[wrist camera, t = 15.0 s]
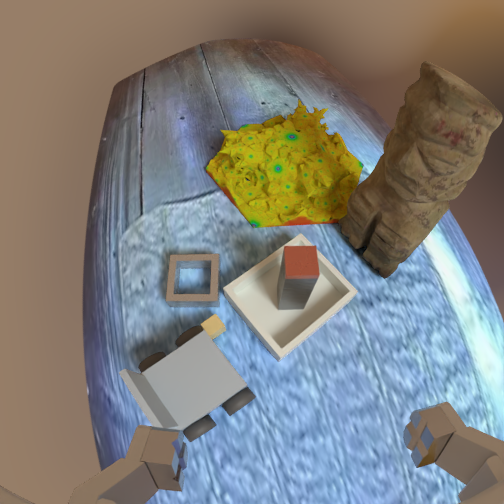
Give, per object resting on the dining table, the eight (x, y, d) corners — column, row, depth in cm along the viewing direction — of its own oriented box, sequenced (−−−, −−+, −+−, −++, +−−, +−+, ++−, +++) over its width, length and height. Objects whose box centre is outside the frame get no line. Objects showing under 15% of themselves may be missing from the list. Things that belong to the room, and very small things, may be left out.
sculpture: (327, 231, 48) (383, 56, 22) (363, 204, 51) (422, 49, 24) (382, 286, 43) (496, 133, 17) (413, 253, 46) (512, 112, 20)
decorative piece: (293, 81, 58) (404, 164, 46) (290, 110, 65) (389, 193, 53) (182, 121, 51) (287, 236, 39) (188, 152, 58) (282, 264, 45)
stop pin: (303, 309, 41) (319, 275, 31) (277, 310, 41) (286, 275, 31) (301, 285, 42) (316, 245, 33) (276, 286, 42) (284, 245, 33)
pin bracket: (219, 307, 42) (217, 300, 40) (170, 307, 42) (165, 300, 39) (220, 262, 45) (218, 253, 43) (174, 262, 45) (170, 254, 43)
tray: (278, 362, 38) (280, 357, 35) (225, 297, 42) (223, 288, 39) (350, 300, 42) (357, 291, 39) (297, 245, 47) (300, 233, 44)
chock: (211, 340, 39) (209, 336, 37) (203, 328, 40) (200, 324, 38) (226, 330, 40) (224, 325, 38) (217, 318, 41) (215, 313, 39)
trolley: (193, 440, 33) (170, 451, 23) (144, 370, 37) (107, 354, 27) (255, 397, 36) (257, 393, 26) (203, 330, 40) (186, 301, 30)
